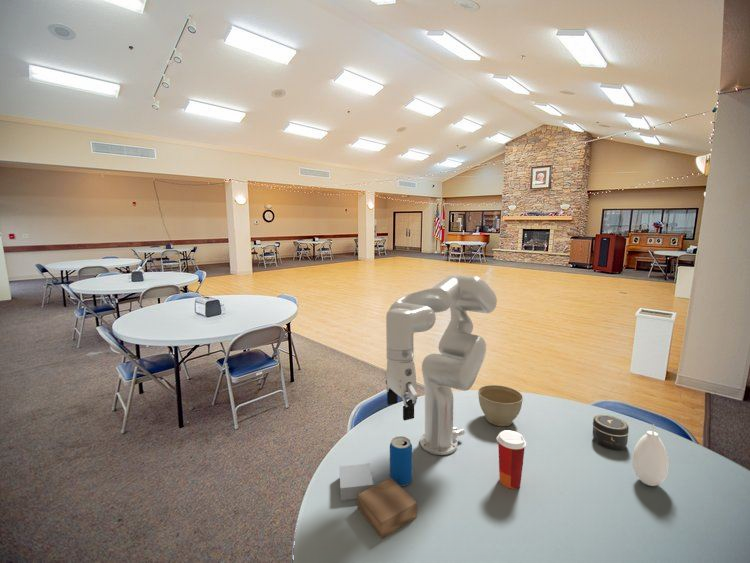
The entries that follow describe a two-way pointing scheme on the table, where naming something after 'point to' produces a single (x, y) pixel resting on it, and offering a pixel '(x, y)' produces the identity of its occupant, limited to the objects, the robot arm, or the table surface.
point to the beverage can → (401, 460)
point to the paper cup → (510, 458)
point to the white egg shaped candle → (650, 459)
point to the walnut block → (387, 506)
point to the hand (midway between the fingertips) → (400, 411)
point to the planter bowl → (500, 404)
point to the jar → (610, 432)
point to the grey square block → (354, 480)
